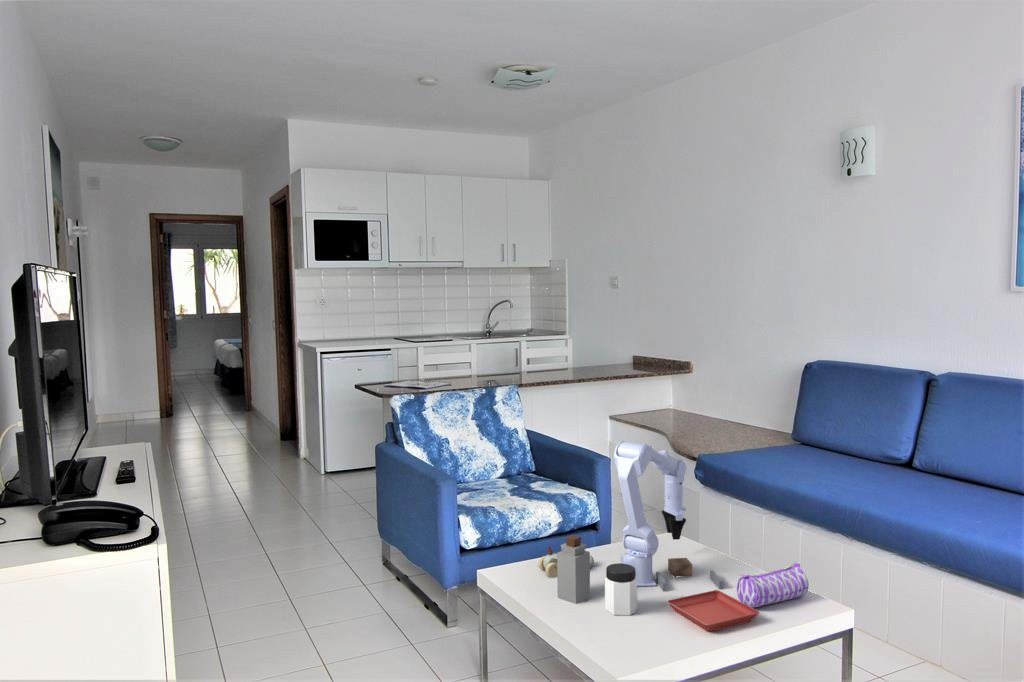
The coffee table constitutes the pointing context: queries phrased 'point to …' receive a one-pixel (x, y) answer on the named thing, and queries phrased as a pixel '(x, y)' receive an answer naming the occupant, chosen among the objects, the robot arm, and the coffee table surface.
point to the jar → (620, 589)
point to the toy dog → (553, 563)
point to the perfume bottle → (573, 571)
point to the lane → (713, 577)
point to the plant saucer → (713, 610)
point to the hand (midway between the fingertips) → (673, 535)
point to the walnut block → (680, 567)
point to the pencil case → (772, 586)
